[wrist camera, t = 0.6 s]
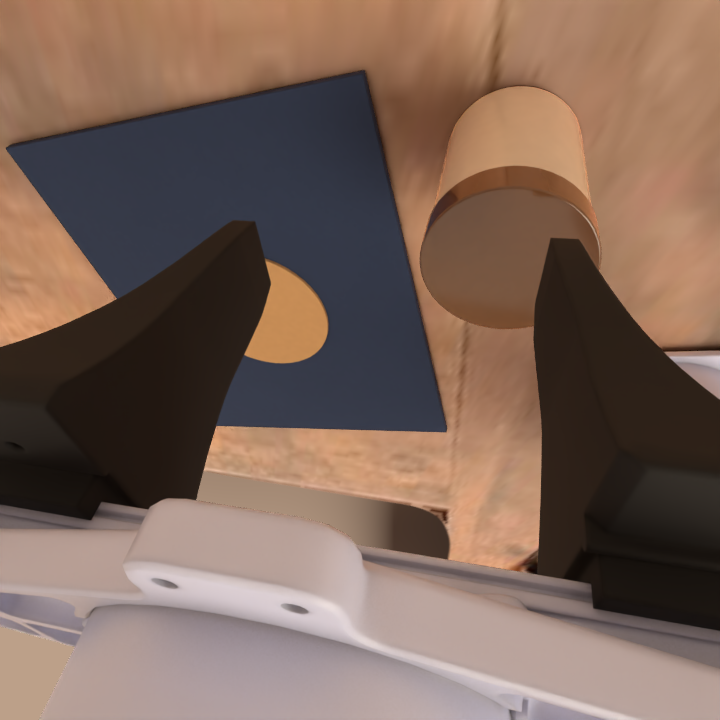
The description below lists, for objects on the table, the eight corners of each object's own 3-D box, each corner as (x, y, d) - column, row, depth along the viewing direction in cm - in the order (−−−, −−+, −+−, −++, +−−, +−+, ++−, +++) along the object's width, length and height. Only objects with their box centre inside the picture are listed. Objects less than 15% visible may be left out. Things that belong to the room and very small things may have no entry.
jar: (581, 205, 21) (596, 327, 17) (453, 218, 23) (433, 332, 18) (588, 68, 18) (608, 174, 13) (435, 96, 19) (404, 198, 15)
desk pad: (447, 427, 34) (446, 434, 34) (212, 421, 40) (209, 428, 40) (365, 69, 19) (361, 75, 19) (10, 144, 25) (2, 150, 25)
